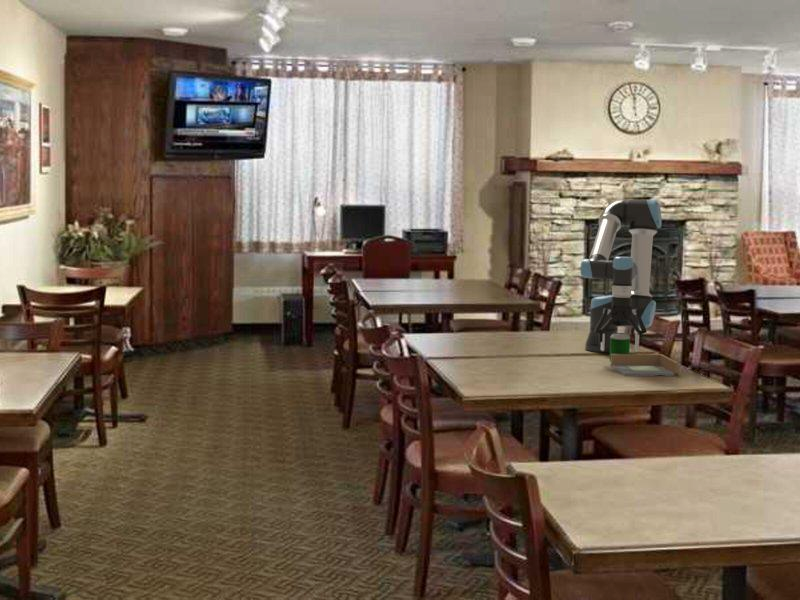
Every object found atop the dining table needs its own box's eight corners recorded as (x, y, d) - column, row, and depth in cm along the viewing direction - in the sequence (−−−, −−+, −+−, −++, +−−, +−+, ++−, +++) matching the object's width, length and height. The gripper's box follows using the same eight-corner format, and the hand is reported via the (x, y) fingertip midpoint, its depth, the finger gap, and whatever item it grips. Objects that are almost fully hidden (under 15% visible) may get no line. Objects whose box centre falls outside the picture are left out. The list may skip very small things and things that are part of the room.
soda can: (629, 366, 411) (630, 335, 410) (609, 365, 413) (610, 334, 412) (628, 363, 419) (630, 333, 417) (609, 362, 420) (610, 332, 419)
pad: (627, 366, 405) (627, 365, 405) (652, 366, 405) (652, 365, 405) (634, 370, 395) (634, 370, 395) (660, 370, 395) (660, 370, 395)
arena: (610, 366, 409) (611, 353, 409) (661, 366, 411) (662, 354, 410) (624, 375, 390) (625, 362, 389) (678, 375, 391) (678, 362, 390)
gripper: (592, 296, 408) (590, 351, 410) (656, 297, 410) (653, 352, 412) (587, 295, 416) (585, 348, 418) (650, 296, 418) (648, 349, 419)
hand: (619, 350), depth 415 cm, fingers open, 13 cm apart
